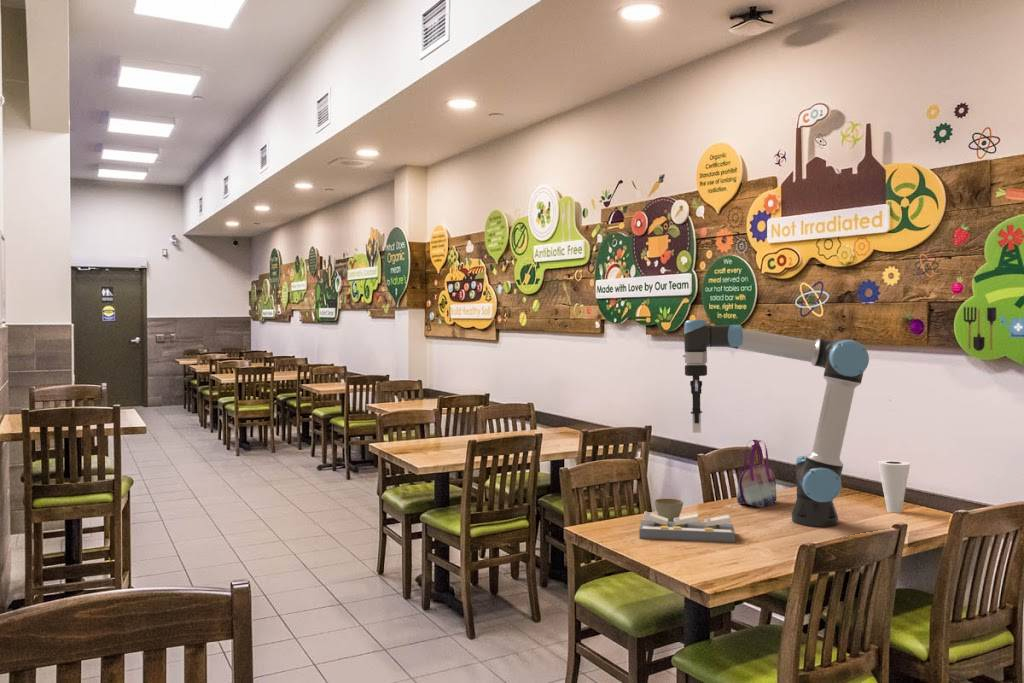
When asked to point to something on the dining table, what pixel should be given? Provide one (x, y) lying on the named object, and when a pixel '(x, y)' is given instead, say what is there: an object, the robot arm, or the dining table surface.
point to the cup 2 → (894, 483)
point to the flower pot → (668, 508)
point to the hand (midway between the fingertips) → (696, 432)
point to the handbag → (757, 481)
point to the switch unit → (687, 531)
